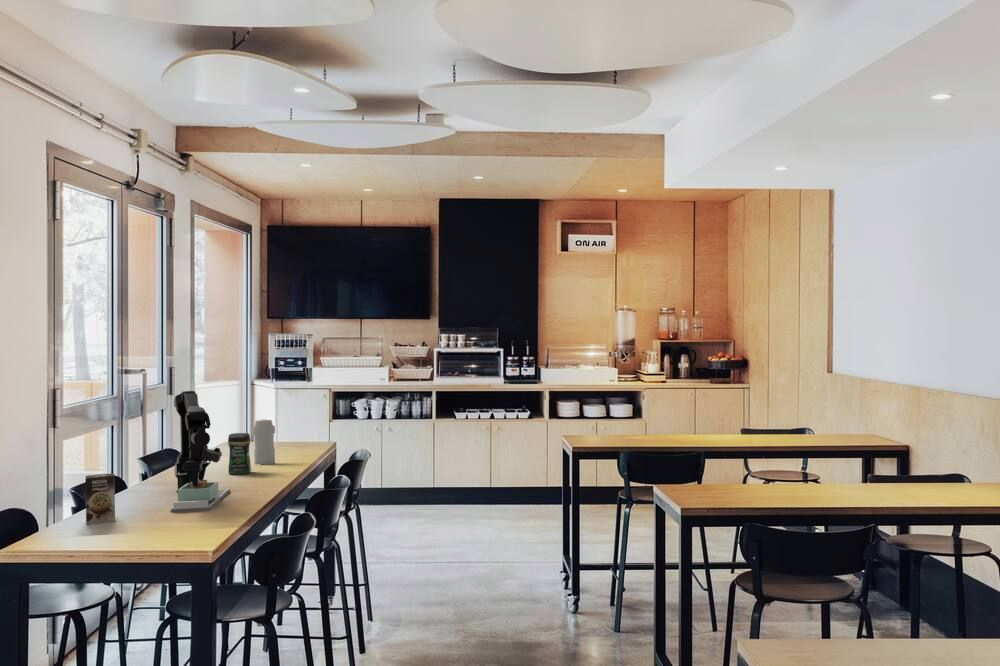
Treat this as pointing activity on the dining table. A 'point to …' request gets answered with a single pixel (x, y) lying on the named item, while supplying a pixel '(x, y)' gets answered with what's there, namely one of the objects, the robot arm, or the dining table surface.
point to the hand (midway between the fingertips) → (198, 484)
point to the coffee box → (100, 498)
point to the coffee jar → (239, 453)
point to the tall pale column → (264, 442)
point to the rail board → (199, 503)
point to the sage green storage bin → (198, 492)
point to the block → (199, 484)
